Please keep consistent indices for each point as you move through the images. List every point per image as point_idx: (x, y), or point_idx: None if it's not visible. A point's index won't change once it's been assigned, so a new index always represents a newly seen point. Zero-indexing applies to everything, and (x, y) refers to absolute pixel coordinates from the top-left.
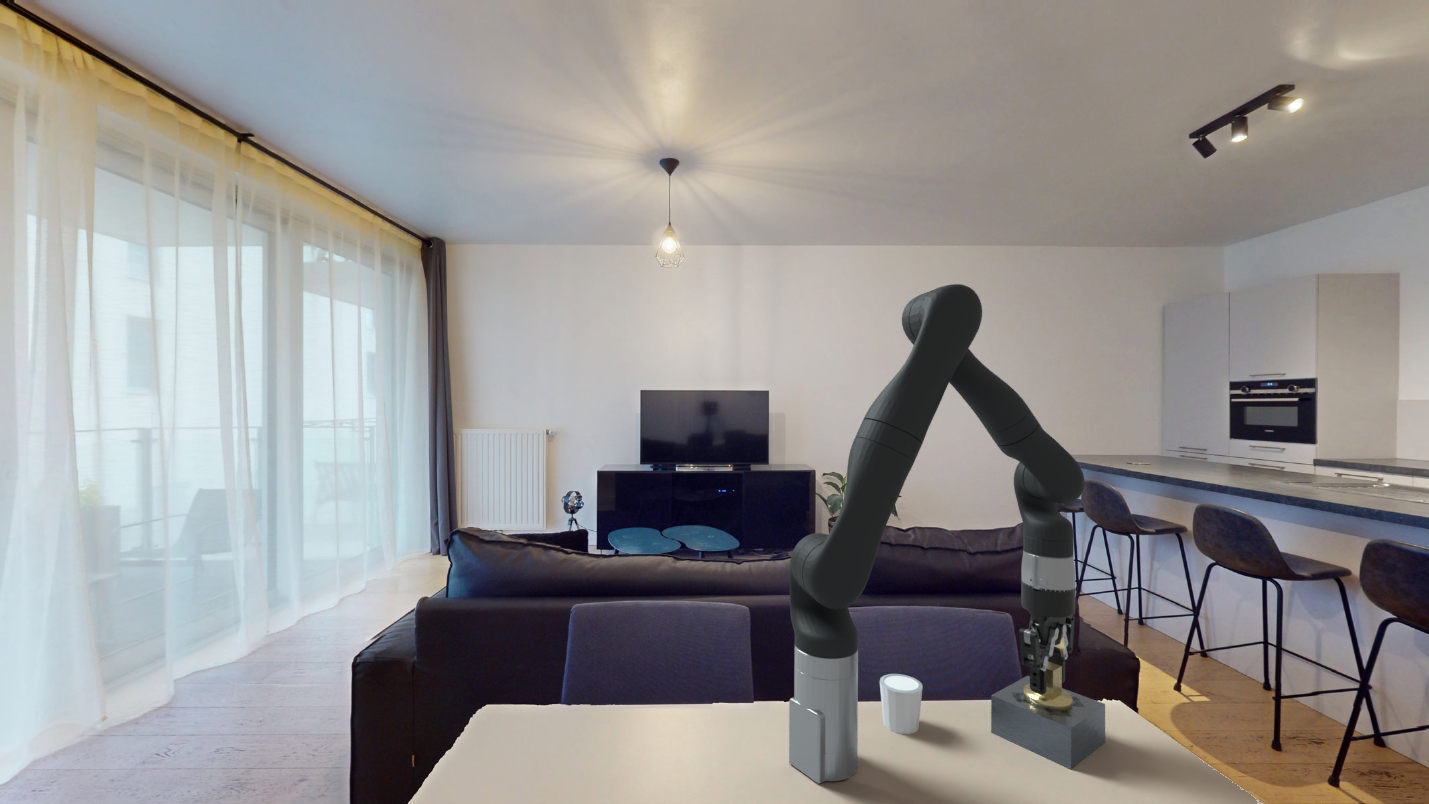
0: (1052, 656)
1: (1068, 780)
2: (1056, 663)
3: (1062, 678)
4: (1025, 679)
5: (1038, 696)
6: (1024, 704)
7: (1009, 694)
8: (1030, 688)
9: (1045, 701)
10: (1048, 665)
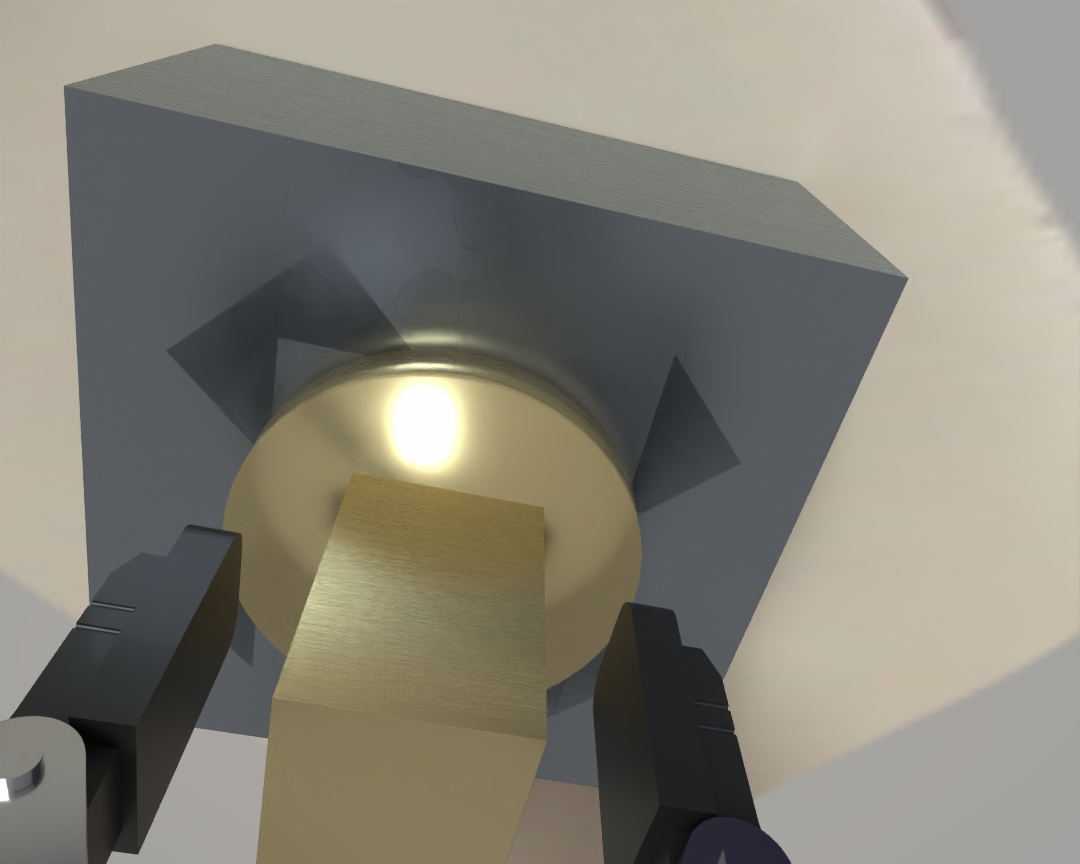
0: (664, 842)
1: (85, 539)
2: (623, 813)
3: (599, 728)
4: (782, 283)
5: (296, 523)
6: (166, 410)
7: (258, 246)
8: (186, 527)
9: (241, 583)
10: (393, 813)
